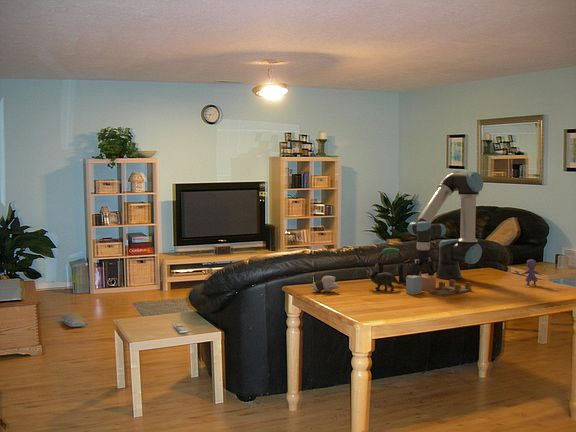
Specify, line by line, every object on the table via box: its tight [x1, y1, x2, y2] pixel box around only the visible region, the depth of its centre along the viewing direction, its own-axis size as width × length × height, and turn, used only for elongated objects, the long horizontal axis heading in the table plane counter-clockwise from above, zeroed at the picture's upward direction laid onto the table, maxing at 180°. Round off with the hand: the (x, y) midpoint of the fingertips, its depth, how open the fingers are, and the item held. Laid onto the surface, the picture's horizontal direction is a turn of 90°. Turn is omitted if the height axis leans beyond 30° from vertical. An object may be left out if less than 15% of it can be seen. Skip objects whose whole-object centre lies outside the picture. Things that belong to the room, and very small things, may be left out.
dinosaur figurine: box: [365, 267, 406, 292], centre depth 366 cm, size 22×8×11 cm, turn 71°
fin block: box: [405, 275, 422, 295], centre depth 358 cm, size 5×7×9 cm
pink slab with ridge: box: [419, 271, 437, 292], centre depth 369 cm, size 14×5×9 cm, turn 28°
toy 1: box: [310, 275, 340, 293], centre depth 362 cm, size 13×9×15 cm
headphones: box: [374, 247, 408, 283], centre depth 390 cm, size 19×11×20 cm, turn 80°
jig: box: [428, 279, 473, 297], centre depth 360 cm, size 14×22×4 cm, turn 130°
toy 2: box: [513, 258, 549, 287], centre depth 375 cm, size 18×6×15 cm, turn 84°
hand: (422, 288), depth 369 cm, fingers open, 11 cm apart
